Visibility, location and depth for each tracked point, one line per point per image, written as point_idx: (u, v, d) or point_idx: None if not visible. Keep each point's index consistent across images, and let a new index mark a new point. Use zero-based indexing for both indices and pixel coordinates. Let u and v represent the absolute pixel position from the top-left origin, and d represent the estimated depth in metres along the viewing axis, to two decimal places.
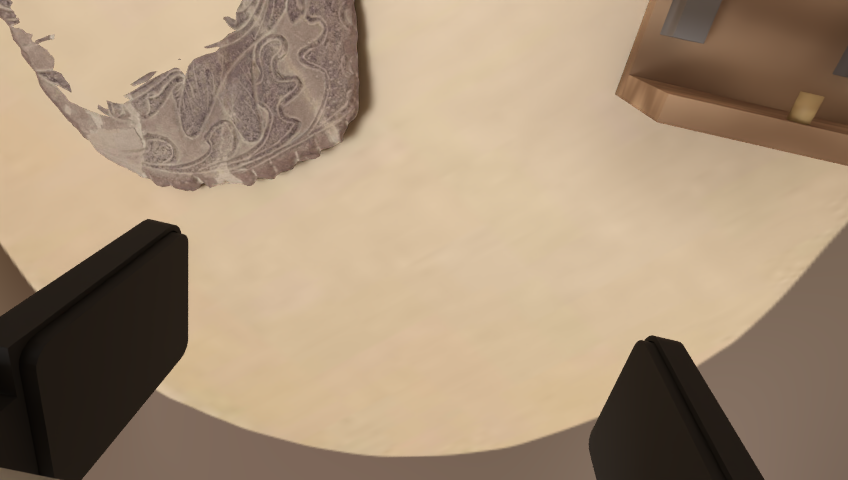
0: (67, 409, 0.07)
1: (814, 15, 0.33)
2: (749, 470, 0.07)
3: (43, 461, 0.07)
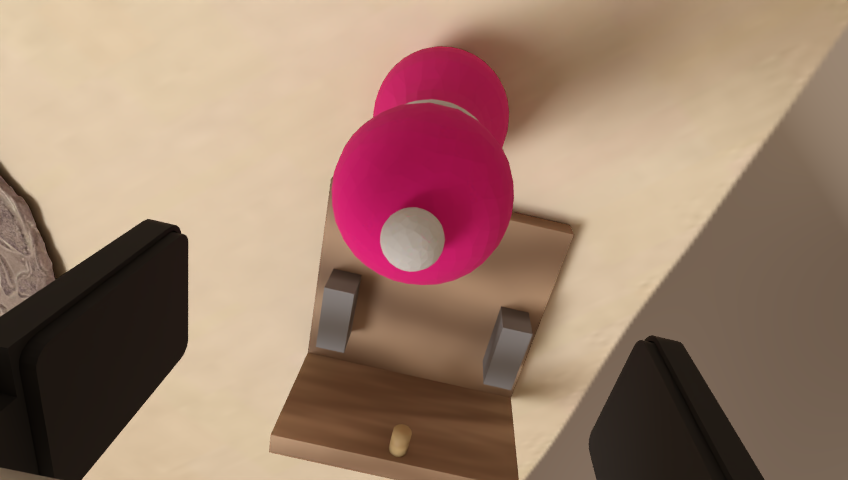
0: (67, 409, 0.07)
1: (453, 319, 0.36)
2: (749, 470, 0.07)
3: (43, 461, 0.07)
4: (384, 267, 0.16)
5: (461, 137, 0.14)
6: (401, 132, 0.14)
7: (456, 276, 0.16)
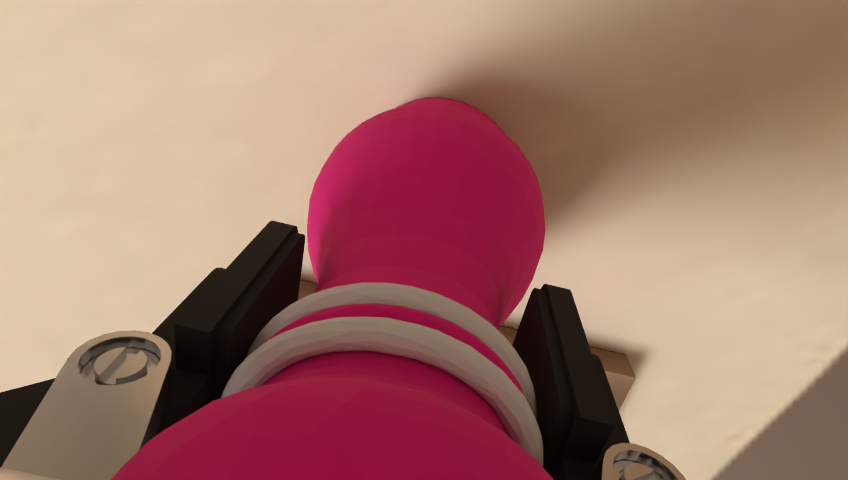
0: None
1: None
2: (592, 384, 0.08)
3: None
4: None
5: None
6: None
7: None
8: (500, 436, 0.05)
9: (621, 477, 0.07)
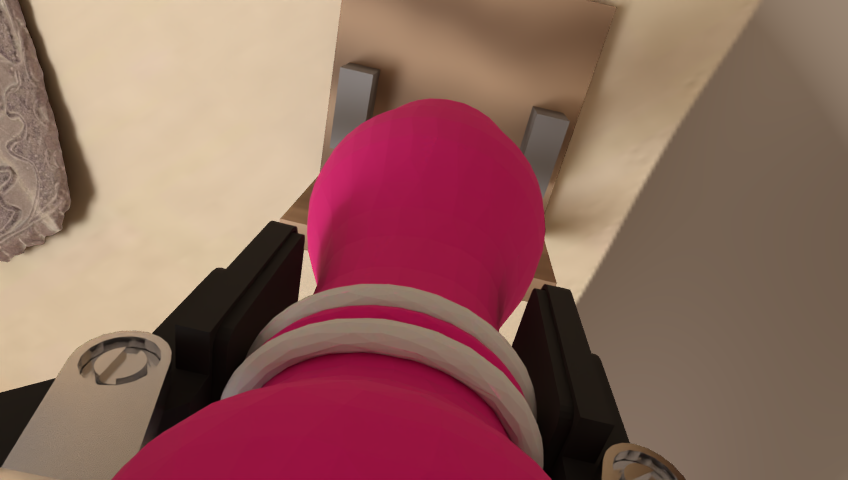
0: None
1: None
2: (592, 384, 0.08)
3: None
4: None
5: None
6: None
7: None
8: (500, 439, 0.05)
9: (621, 477, 0.07)
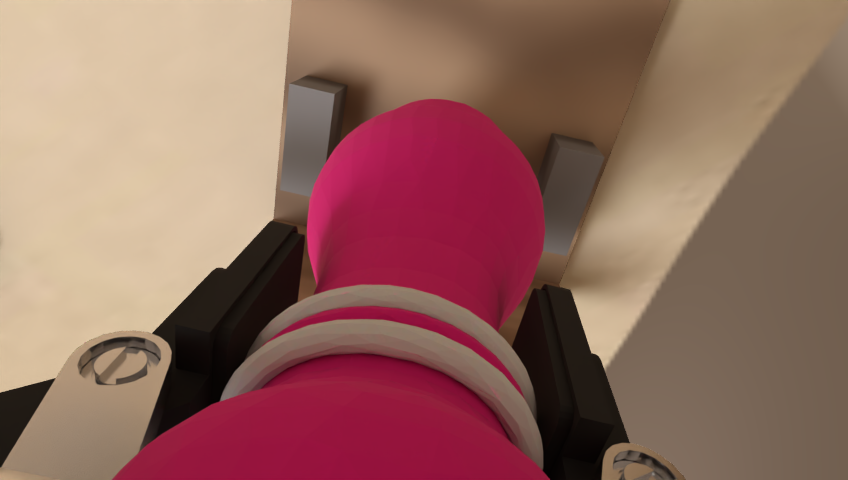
0: None
1: None
2: (592, 384, 0.08)
3: None
4: None
5: None
6: None
7: None
8: (500, 440, 0.05)
9: (621, 477, 0.07)
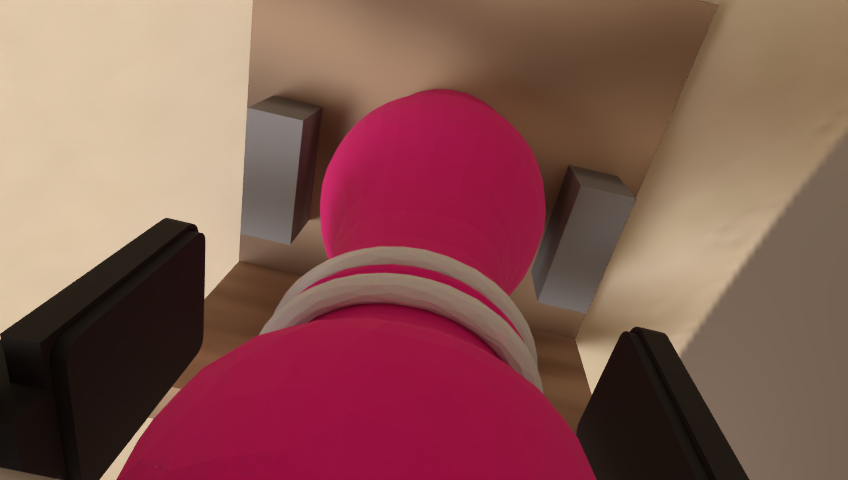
0: (93, 403, 0.07)
1: None
2: (725, 454, 0.07)
3: (70, 454, 0.07)
4: None
5: None
6: None
7: None
8: (506, 365, 0.06)
9: None
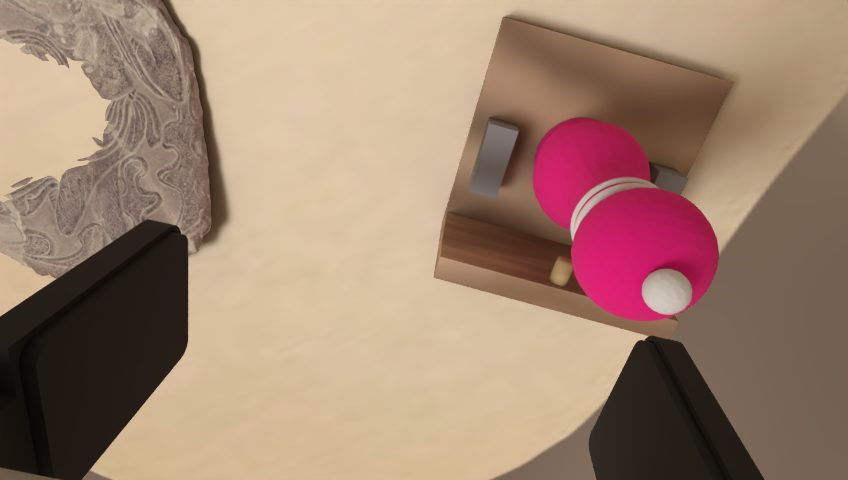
0: (67, 409, 0.07)
1: None
2: (749, 469, 0.07)
3: (43, 461, 0.07)
4: (624, 307, 0.21)
5: (695, 218, 0.20)
6: (653, 214, 0.20)
7: (671, 316, 0.22)
8: None
9: None
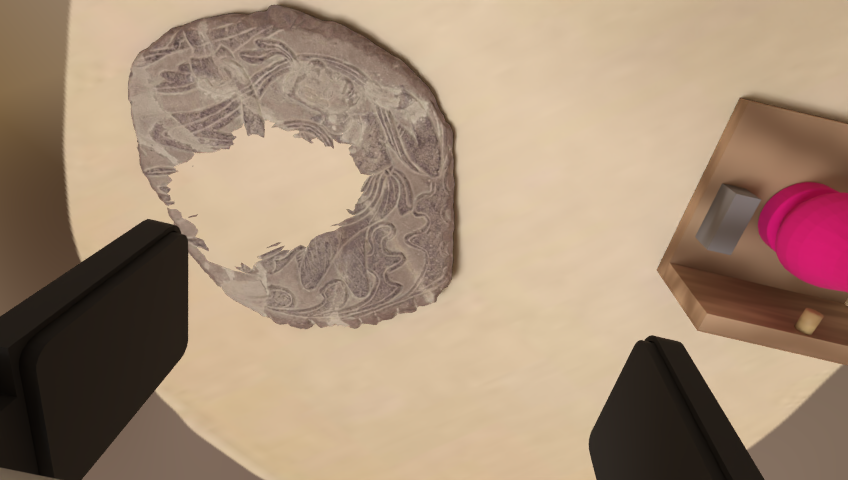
0: (67, 409, 0.07)
1: None
2: (749, 470, 0.07)
3: (43, 461, 0.07)
4: None
5: None
6: None
7: None
8: None
9: None
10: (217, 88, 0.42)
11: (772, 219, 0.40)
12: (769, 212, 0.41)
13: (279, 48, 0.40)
